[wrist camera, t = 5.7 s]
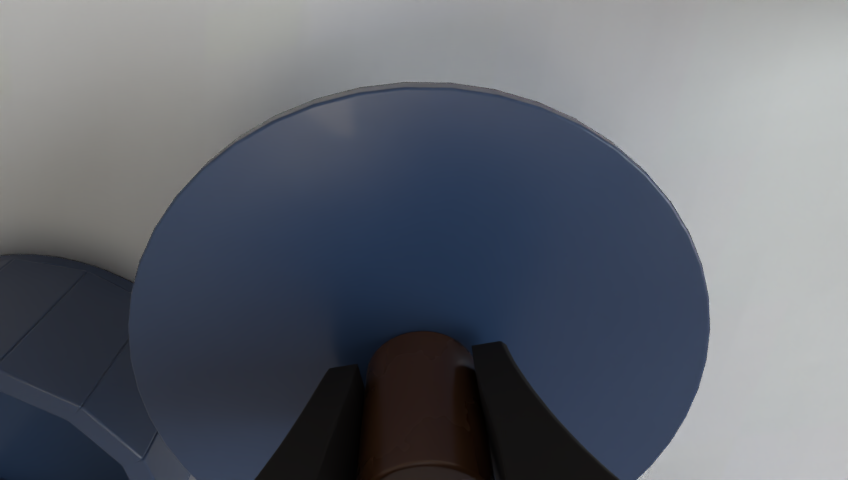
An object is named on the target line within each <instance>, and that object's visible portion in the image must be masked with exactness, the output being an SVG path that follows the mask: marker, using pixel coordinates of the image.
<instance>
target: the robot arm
mask: <svg viewBox="0 0 848 480" xmlns="http://www.w3.org/2000/svg"><path fill="white" fill-rule="evenodd" d="M472 353H473V360H474V367H475V372H476V378H477V384H478V390H479V395H480V401H481V407H482V411H483V415H484V419H485V423H486V428H487V433H488V440H489V446H490V452H491V458H492V465H493V471H494V475H495V479H496V480H620V479H619V478H618V477H616V476H615V475H614V474H613V473H612V472H611V471H609V470H608V469H607V468H606V467H605V466H604V465H603V464H602V463H600V462H599V461H598V460H597V459H596V458H595V457H594V456H593V455H592V454H591V453H590V452H589V451H588V450H587V449H586V448H585V447H584V446H583V445H582V444H581V443H580V442H579V441H578V440H577V439H576V438H575V437H574V436H573V435H572V434H571V433H570V432H569V431H568V430H567V429H566V427H565V426H564V425H563V424H562V423H561V422H560V421H559V420H558V419H557V417H556V416H555V415H554V414H553V413H552V412H551V410H550V409H549V408H548V407H547V406H546V404H545V403H544V402H543V400H542V399H541V398H540V397H539V395H538V394H537V393H536V392H535V390H534V389H533V388H532V386H531V385H530V384H529V382H528V381H527V379H526V378H525V376H524V375H523V373H522V372H521V370H520V369H519V367H518V366H517V364H516V362H515V361H514V359H513V357H512V355H511V353H510V351H509V349H508V347H507V345H506V344H505V343H503V342H502V341H497V342H491V343H485V344H478V345H472ZM364 394H365V388H364V384H363V381H362V377H361V374H360V370H359V367H358V364H353V365H346V366H340V367H334V368H329V369H328V371H327V372H326V373H325V375H324V377H323V378H322V380H321V381H320V383H319V385H318V386H317V388H316V390H315V391H314V393H313V395H312V396H311V398H310V400H309V401H308V403H307V404H306V406H305V408H304V409H303V411H302V412H301V414H300V416H299V417H298V419H297V420H296V422H295V423H294V425H293V426H292V428H291V429H290V431H289V432H288V434H287V435H286V437H285V438H284V440H283V441H282V443H281V444H280V446H279V447H278V448H277V450H276V451H275V453H274V454H273V455H272V457H271V458H270V459H269V461H268V462H267V463H266V465H265V466H264V467H263V469H262V470H261V472H260V473H259V474H258V476H257V477H256V478H255V480H356V477H357V466H358V456H359V446H360V436H361V425H362V415H363V405H364Z"/></svg>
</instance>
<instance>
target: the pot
mask: <svg viewBox="0 0 848 480" xmlns="http://www.w3.org/2000/svg"><path fill="white" fill-rule="evenodd" d="M132 288H133V283H132V282H130V281H128V280H126V279H124V278H122V277H119V276H117V275H115V274H113V273H111V272H108V271H106V270H103V269H100V268H97V267H94V266H91V265H88V264H85V263H82V262H78V261H73V260H69V259H64V258H60V257H52V256H43V255H16V254H13V255H4V256H0V480H196V479H195V478H194V477H193V476H192V475H191V474H190V473H189V472H188V471H187V470H186V469H185V468H184V467H183V466H182V465H181V463H180V462H179V461H178V460H177V458H176V457H175V456H174V455H173V453H172V452H171V451H170V450H169V448H168V447H167V446H166V444H165V443H164V441H163V440H162V438H161V436H160V435H159V433H158V431H157V430H156V428H155V426H154V424H153V423H152V421H151V419H150V418H149V415H148V413H147V410H146V408H145V406H144V403H143V401H142V398H141V396H140V393H139V391H138V388H137V384H136V380H135V376H134V372H133V367H132V363H131V359H130V346H129V333H128V321H129V310H130V299H131V292H132Z"/></svg>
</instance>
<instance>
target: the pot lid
mask: <svg viewBox="0 0 848 480" xmlns="http://www.w3.org/2000/svg"><path fill="white" fill-rule="evenodd" d="M128 333H129V346H130V359H131V363H132V367H133V372H134V376H135V380H136V384H137V388H138V391H139V393H140V396H141V398H142V401H143V403H144V406H145V408H146V410H147V413H148V415H149V418H150V419H151V421H152V423H153V424H154V426H155V428H156V430H157V431H158V433H159V435H160V436H161V438H162V440H163V441H164V443H165V444H166V446H167V447H168V448H169V450H170V451H171V452H172V453H173V455H174V456H175V457H176V458H177V460H178V461H179V462H180V463H181V465H182V466H183V467H184V468H185V469H186V470H187V471H188V472H189V473H190V474H191V475H192V476H193V477H194V478H195V479H196V480H255V478H256V477H257V476H258V474H259V473H260V472H261V470H262V469H263V467H264V466H265V465H266V463H267V462H268V461H269V459H270V458H271V457H272V455H273V454H274V453H275V451H276V450H277V448H278V447H279V446H280V444H281V443H282V441H283V440H284V438H285V437H286V435H287V434H288V432H289V431H290V429H291V428H292V426H293V425H294V423H295V422H296V420H297V419H298V417H299V416H300V414H301V412H302V411H303V409H304V408H305V406H306V404H307V403H308V401H309V400H310V398H311V396H312V395H313V393H314V391H315V390H316V388H317V386H318V385H319V383H320V381H321V380H322V378H323V377H324V375H325V373H326V372H327V371H328V369H329V368H334V367H340V366H346V365H353V364H358V367H359V370H360V374H361V377H362V381H363V384H364V388H365V394H364V405H363V415H362V425H361V436H360V446H359V456H358V466H357V477H356V480H496V479H495V475H494V471H493V465H492V458H491V452H490V446H489V440H488V433H487V428H486V423H485V419H484V415H483V411H482V407H481V401H480V395H479V390H478V384H477V378H476V372H475V367H474V360H473V353H472V345H478V344H485V343H491V342H497V341H502V342H503V343H505V344H506V345H507V347H508V349H509V351H510V353H511V355H512V357H513V359H514V361H515V362H516V364H517V366H518V367H519V369H520V370H521V372H522V373H523V375H524V376H525V378H526V379H527V381H528V382H529V384H530V385H531V386H532V388H533V389H534V390H535V392H536V393H537V394H538V395H539V397H540V398H541V399H542V400H543V402H544V403H545V404H546V406H547V407H548V408H549V409H550V410H551V412H552V413H553V414H554V415H555V416H556V417H557V419H558V420H559V421H560V422H561V423H562V424H563V425H564V426H565V427H566V429H567V430H568V431H569V432H570V433H571V434H572V435H573V436H574V437H575V438H576V439H577V440H578V441H579V442H580V443H581V444H582V445H583V446H584V447H585V448H586V449H587V450H588V451H589V452H590V453H591V454H592V455H593V456H594V457H595V458H596V459H597V460H598V461H599V462H600V463H602V464H603V465H604V466H605V467H606V468H607V469H608V470H609V471H611V472H612V473H613V474H614V475H615V476H616V477H618V478H619V479H620V480H637V479H638V478H639V477H640V476H641V475H642V474H643V473H644V472H645V471H646V470H647V469H648V468H649V467H650V466H651V465H652V464H653V463H654V462H655V460H656V459H657V458H658V457H659V455H660V454H661V453H662V452H663V450H664V449H665V448H666V447H667V446H668V444H669V443H670V442H671V440H672V438H673V437H674V435H675V434H676V432H677V430H678V429H679V427H680V426H681V424H682V422H683V421H684V419H685V418H686V415H687V413H688V411H689V409H690V406H691V404H692V402H693V400H694V398H695V395H696V393H697V391H698V388H699V384H700V381H701V377H702V374H703V370H704V367H705V363H706V359H707V350H708V342H709V333H710V318H709V296H708V291H707V286H706V282H705V277H704V272H703V267H702V263H701V261H700V258H699V256H698V253H697V251H696V248H695V246H694V243H693V241H692V238H691V235H690V233H689V231H688V229H687V228H686V226H685V224H684V223H683V221H682V219H681V218H680V216H679V214H678V213H677V211H676V209H675V208H674V206H673V204H672V203H671V201H670V200H669V199H668V198H667V197H666V195H665V194H664V193H663V192H662V191H661V189H660V188H659V187H658V186H657V185H656V184H655V182H654V181H653V180H652V179H651V178H650V176H649V175H648V174H647V173H646V172H645V171H644V170H643V169H642V168H641V167H640V166H639V165H638V164H637V163H635V162H634V161H633V160H632V159H631V158H630V157H628V156H627V155H626V154H625V153H624V152H623V151H622V150H620V149H619V148H618V147H617V146H616V145H615V144H613V143H612V142H611V141H610V140H608V139H607V138H605V137H604V136H602V135H600V134H599V133H597V132H596V131H594V130H593V129H591V128H589V127H588V126H586V125H585V124H583V123H581V122H580V121H578V120H577V119H575V118H573V117H570V116H568V115H566V114H564V113H561V112H559V111H557V110H555V109H553V108H550V107H548V106H546V105H544V104H541V103H539V102H537V101H533V100H530V99H526V98H523V97H520V96H516V95H513V94H509V93H506V92H502V91H499V90H496V89H489V88H483V87H476V86H469V85H462V84H456V83H434V82H401V83H393V84H384V85H376V86H367V87H360V88H356V89H352V90H348V91H344V92H340V93H336V94H332V95H328V96H324V97H321V98H317V99H314V100H312V101H309V102H307V103H304V104H302V105H299V106H297V107H295V108H292V109H290V110H287V111H285V112H282V113H280V114H277V115H275V116H274V117H272V118H270V119H268V120H267V121H265V122H263V123H262V124H260V125H258V126H256V127H255V128H253V129H251V130H250V131H248V132H246V133H244V134H243V135H241V136H239V137H238V138H237V139H236V140H234V141H233V142H232V143H231V144H229V145H228V146H227V147H226V148H224V149H223V150H222V151H220V152H219V153H218V154H217V155H215V156H214V157H213V158H212V159H210V160H209V161H208V162H207V163H206V164H205V165H204V166H203V167H202V168H201V170H200V171H199V172H198V173H197V174H196V175H195V176H194V177H193V178H192V179H191V180H190V181H189V183H188V184H187V185H186V186H185V187H184V188H183V189H182V190H181V191H180V192H179V193H178V194H177V196H176V197H175V198H174V199H173V201H172V202H171V204H170V205H169V207H168V208H167V210H166V211H165V213H164V214H163V216H162V217H161V219H160V220H159V222H158V223H157V225H156V226H155V228H154V230H153V232H152V234H151V237H150V239H149V241H148V243H147V246H146V248H145V250H144V252H143V254H142V257H141V259H140V261H139V265H138V269H137V273H136V276H135V280H134V284H133V288H132V292H131V299H130V310H129V321H128Z"/></svg>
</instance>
